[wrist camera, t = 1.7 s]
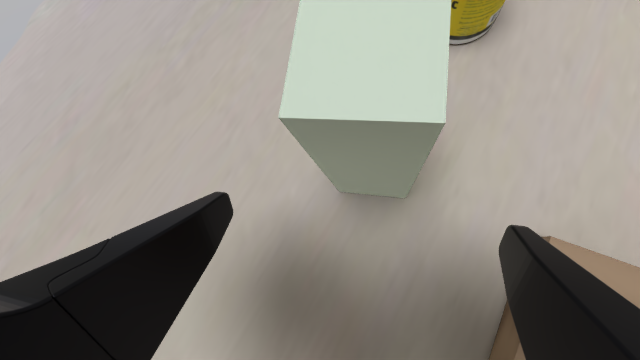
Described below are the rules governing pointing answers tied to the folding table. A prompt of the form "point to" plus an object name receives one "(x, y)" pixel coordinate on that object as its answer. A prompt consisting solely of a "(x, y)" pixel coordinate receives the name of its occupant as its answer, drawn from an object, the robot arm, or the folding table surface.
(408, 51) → the sage post
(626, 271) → the walnut block
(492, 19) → the supplement bottle
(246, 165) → the folding table surface
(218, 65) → the folding table surface
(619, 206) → the folding table surface
